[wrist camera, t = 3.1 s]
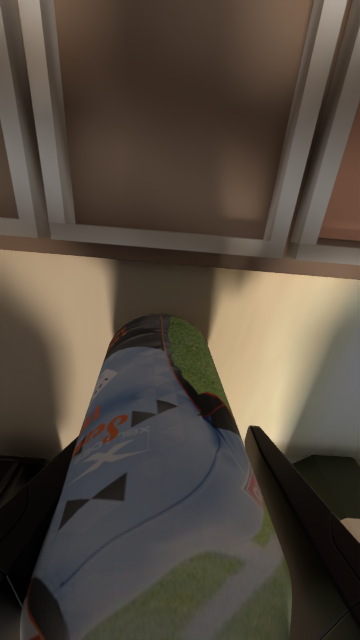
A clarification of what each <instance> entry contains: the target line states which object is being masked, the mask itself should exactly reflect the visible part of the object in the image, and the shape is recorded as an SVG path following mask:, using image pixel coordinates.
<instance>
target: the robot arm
mask: <svg viewBox="0 0 360 640" xmlns="http://www.w3.org/2000/svg"><path fill="white" fill-rule="evenodd" d="M78 437H79V436H78ZM78 437H77V438H76V439H75V440H73V441H72V442H71V443H70V444H69V445H68V446H67V447H66V448H65V449H64V450H63V451H62V452H60V453H59V454H58V455H57V456H56V457H55V458H54V459H53V460H52V461H51V462H50V461H49V460H46V459H38V458H26V457H14V456H1V455H0V640H20V621H21V613H22V608H23V603H24V599H25V595H26V592H27V589H28V586H29V583H30V580H31V577H32V574H33V571H34V568H35V565H36V562H37V559H38V556H39V553H40V550H41V547H42V544H43V541H44V538H45V535H46V532H47V530H48V527H49V525H50V522H51V519H52V517H53V514H54V512H55V509H56V507H57V504H58V502H59V499H60V496H61V493H62V490H63V487H64V483H65V480H66V476H67V473H68V469H69V466H70V462H71V459H72V455H73V452H74V449H75V446H76V443H77V440H78ZM245 449H246V452H247V455H248V458H249V461H250V463H251V466H252V469H253V472H254V474H255V477H256V480H257V483H258V485H259V488H260V491H261V494H262V496H263V499H264V502H265V505H266V507H267V510H268V513H269V516H270V518H271V521H272V524H273V527H274V529H275V532H276V535H277V538H278V540H279V543H280V546H281V549H282V551H283V554H284V557H285V560H286V563H287V566H288V569H289V573H290V578H291V586H292V608H291V623H290V635H289V640H360V543H359V542H358V541H357V539H356V538H355V537H354V536H353V535H352V534H351V533H350V532H349V530H348V529H347V528H346V527H345V526H344V525H343V524H342V522H341V521H340V520H339V519H338V518H337V517H336V515H335V514H334V513H332V511H331V510H330V508H329V507H328V506H327V505H326V504H325V503H324V501H323V500H322V499H321V498H320V497H319V496H318V494H317V493H316V492H315V491H314V490H313V489H312V487H311V486H310V485H309V484H308V483H307V482H306V480H305V479H304V478H303V477H302V476H301V475H300V473H299V472H298V471H297V470H296V469H295V468H294V466H293V465H292V464H291V463H290V462H289V461H288V459H287V458H286V457H285V456H284V455H283V454H282V452H281V451H280V450H279V449H278V448H277V446H276V445H275V444H274V443H273V442H272V441H271V439H270V438H269V437H268V436H267V435H266V434H265V432H264V431H263V430H262V429H261V428H260V427H259V426H249V427H248V430H247V434H246V437H245Z"/></svg>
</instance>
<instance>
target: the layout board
mask: <svg viewBox="0 0 360 640" xmlns="http://www.w3.org/2000/svg"><path fill="white" fill-rule="evenodd" d="M0 249H3V250H15V251H27V252H38V253H50V254H62V255H74V256H86V257H97V258H109V259H121V260H133V261H145V262H156V263H168V264H180V265H192V266H204V267H215V268H227V269H239V270H251V271H263V272H274V273H286V274H298V275H310V276H322V277H333V278H345V279H357V280H360V0H0Z"/></svg>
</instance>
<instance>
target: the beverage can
mask: <svg viewBox="0 0 360 640" xmlns="http://www.w3.org/2000/svg"><path fill="white" fill-rule="evenodd" d="M291 608H292V586H291V578H290V573H289V569H288V566H287V563H286V560H285V557H284V554H283V551H282V549H281V546H280V543H279V540H278V538H277V535H276V532H275V529H274V527H273V524H272V521H271V518H270V516H269V513H268V510H267V507H266V505H265V502H264V499H263V496H262V494H261V491H260V488H259V485H258V483H257V480H256V477H255V474H254V472H253V469H252V466H251V463H250V461H249V458H248V455H247V452H246V450H245V447H244V444H243V441H242V439H241V436H240V433H239V430H238V428H237V425H236V422H235V419H234V417H233V414H232V411H231V408H230V406H229V403H228V400H227V397H226V395H225V392H224V389H223V386H222V384H221V381H220V378H219V375H218V373H217V370H216V367H215V364H214V362H213V359H212V356H211V353H210V351H209V348H208V345H207V342H206V340H205V338H204V336H203V335H202V333H201V332H200V331H199V330H198V329H197V328H196V327H195V326H193V325H192V324H191V323H189V322H188V321H185V320H183V319H181V318H178V317H175V316H171V315H163V314H158V315H148V316H143V317H140V318H137V319H135V320H133V321H131V322H129V323H127V324H126V325H124V326H123V327H122V328H121V329H120V330H119V331H118V332H117V333H116V334H115V335H114V337H113V339H112V340H111V342H110V344H109V347H108V350H107V353H106V356H105V359H104V362H103V365H102V368H101V371H100V374H99V377H98V380H97V383H96V386H95V389H94V392H93V395H92V398H91V401H90V404H89V407H88V410H87V413H86V416H85V419H84V422H83V425H82V428H81V431H80V434H79V437H78V440H77V443H76V446H75V449H74V452H73V455H72V459H71V462H70V466H69V469H68V473H67V476H66V480H65V483H64V487H63V490H62V493H61V496H60V499H59V502H58V504H57V507H56V509H55V512H54V514H53V517H52V519H51V522H50V525H49V527H48V530H47V532H46V535H45V538H44V541H43V544H42V547H41V550H40V553H39V556H38V559H37V562H36V565H35V568H34V571H33V574H32V577H31V580H30V583H29V586H28V589H27V592H26V595H25V599H24V603H23V608H22V613H21V621H20V640H289V635H290V623H291Z"/></svg>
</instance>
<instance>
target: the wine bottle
mask: <svg viewBox="0 0 360 640" xmlns="http://www.w3.org/2000/svg"><path fill="white" fill-rule="evenodd" d="M293 466H294V468H295V469H296V470H297V471H298V472H299V473H300V475H301V476H302V477H303V478H304V479H305V480H306V482H307V483H308V484H309V485H310V486H311V487H312V489H313V490H314V491H315V492H316V493H317V494H318V496H319V497H320V498H321V499H322V500H323V501H324V503H325V504H326V505H327V506H328V507H329V508H330V510H331V511H332V513H334V514H335V515H336V517H337V518H338V519H339V520H340V521H341V522H342V524H343V525H344V526H345V527H346V528H347V529H348V530H349V532H350V533H351V534H352V535H353V536H354V537H355V538H356V539H357V541H358V542H359V543H360V466H359V464H358V463H357V462H356V461H355V460H354V459H353V458H348V457H334V456H319V455H312V456H310V457H307V458H305V459H303V460H301V461H299V462H297V463H295V464H293Z"/></svg>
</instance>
